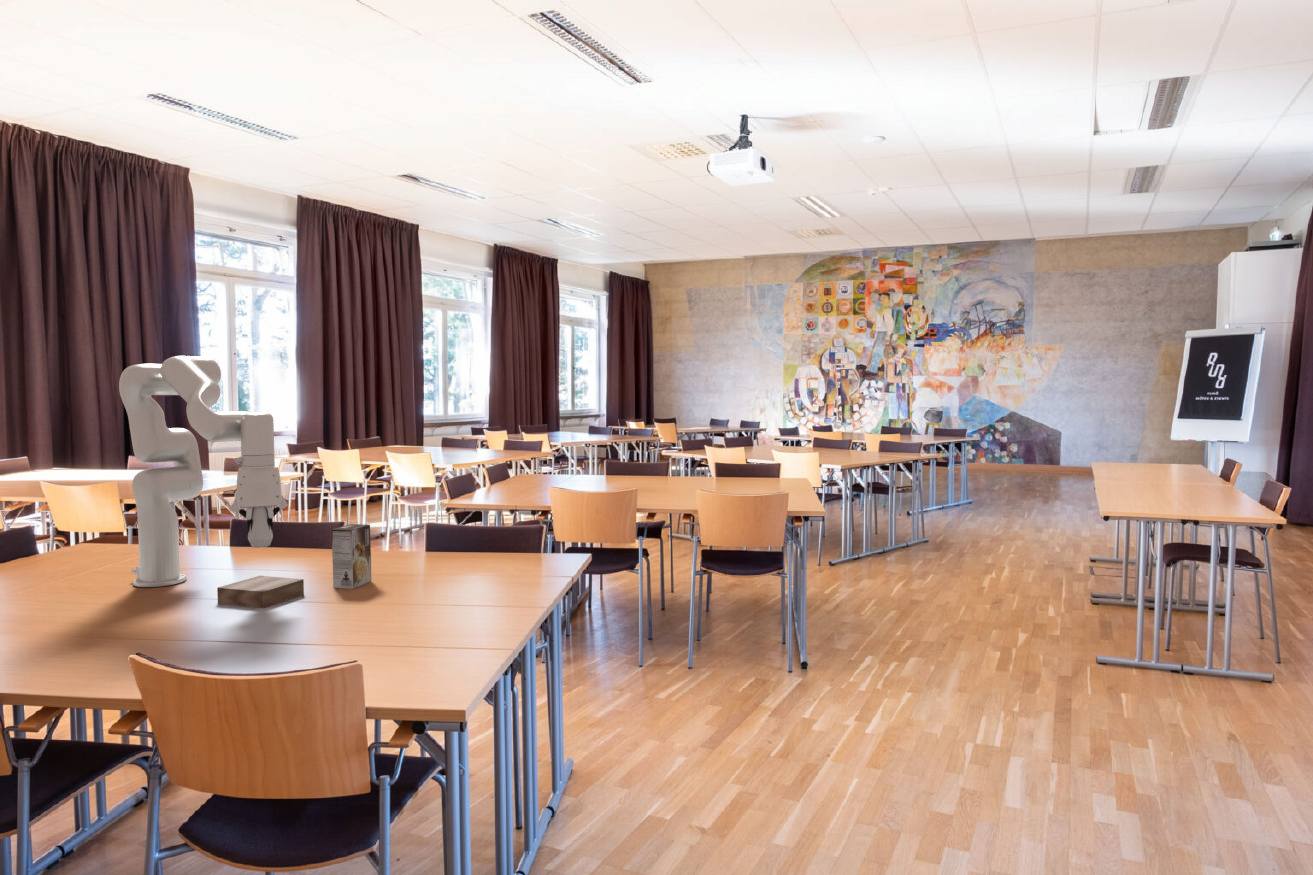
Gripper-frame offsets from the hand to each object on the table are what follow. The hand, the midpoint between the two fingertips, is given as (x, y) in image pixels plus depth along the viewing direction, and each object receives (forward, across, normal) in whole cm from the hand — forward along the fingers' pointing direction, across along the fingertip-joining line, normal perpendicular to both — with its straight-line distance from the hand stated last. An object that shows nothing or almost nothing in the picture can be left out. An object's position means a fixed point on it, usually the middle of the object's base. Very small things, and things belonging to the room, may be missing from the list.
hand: (260, 533), depth 210 cm
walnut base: (+17, 0, 0) cm, 17 cm away
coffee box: (+17, +22, +6) cm, 29 cm away
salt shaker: (+3, 0, 0) cm, 3 cm away
